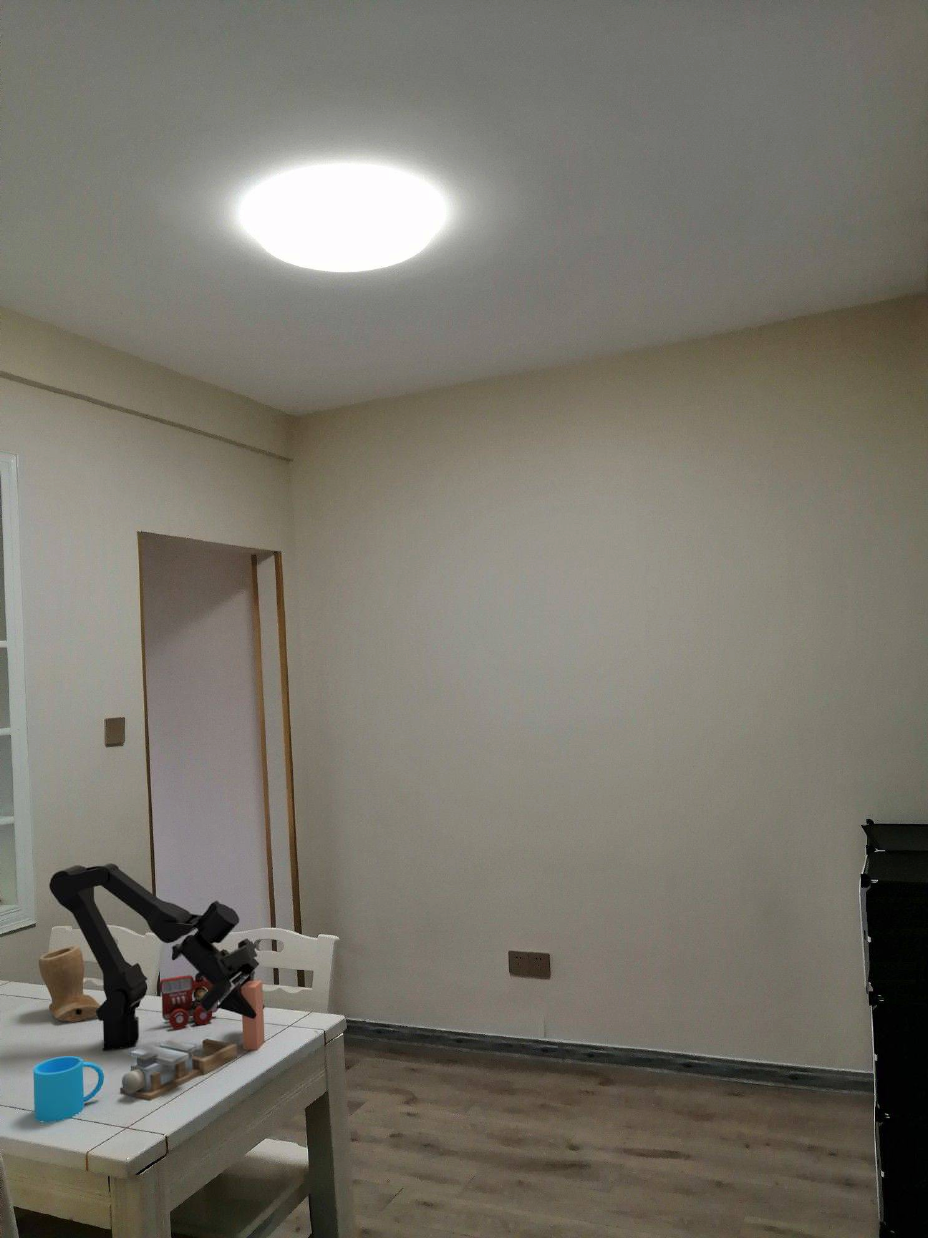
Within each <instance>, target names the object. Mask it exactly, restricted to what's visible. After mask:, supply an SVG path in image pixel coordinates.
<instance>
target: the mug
mask: <svg viewBox="0 0 928 1238" xmlns="http://www.w3.org/2000/svg"><path fill="white" fill-rule="evenodd" d="M85 1067H86V1068H91V1069H93V1070H94V1071H95V1072H96V1073H97V1077H98V1078H97V1079H98V1080H97V1083H96V1085H95V1087H94V1088H93V1089H92V1090H91V1092H90V1093H88V1094H86V1095H85V1096H84V1093H85V1092H84V1068H85ZM32 1071H33V1072H32V1073H33V1102H34V1103H33V1108H34V1120H36V1119H37V1120H36V1121H38V1122H41V1121H43V1122H42V1123H53V1122H52V1121H57V1122H61V1120H62V1121H64V1120H63V1119H66V1120H68V1119H71V1118H73V1116H74V1117H76V1116H77V1115H79V1114H80V1113H82V1110H84V1109H85V1102H88V1101H89V1100H91V1099H92V1098H94V1097H95V1096H96V1095H97V1094H98V1093H99V1091H100V1090H101V1088H102V1086H103V1084H104V1080H105V1075H104V1071H103V1069H102V1068H101V1067H100V1065H98V1064H96V1063H94V1062H88V1061H83V1059H82V1058H80V1057H79V1056H73V1055H71V1056H69V1055H68V1056H67V1055H65V1056H59V1057H54V1058H53V1057H52V1058H51V1059H46V1060H44V1061H42V1062H39V1063H38V1064H37V1065H35V1066H34V1067H33V1069H32ZM83 1108H84V1109H83ZM79 1112H80V1113H79ZM76 1114H77V1115H76ZM70 1117H71V1118H70Z"/></svg>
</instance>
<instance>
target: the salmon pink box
mask: <svg viewBox="0 0 928 1238" xmlns="http://www.w3.org/2000/svg"><path fill="white" fill-rule="evenodd" d="M263 993H264V992H263V981H262V980H254V981H248V982H247V983H245V984H244V985H243V986H242V987H241V994H242V995H243V996H244V998H245V999H246V1000H247V1002H248V1003H249V1004H250V1005H251V1007H252V1008H253V1009H254V1011H255V1012H256V1014H257V1016H256V1017H255V1018H254V1019H252V1018H249V1017H246V1016H243V1015H241V1016H242V1017H241V1019H242V1021H241V1022H242V1046H243V1047H242V1049H244V1050H245V1049H246V1050H245V1051H251V1050H253V1051H258V1050H259V1049H260V1048H261V1047H262V1046H263V1044H265V1041H266V1040H265V1022H264V1021H265V1020H264V1018H265V1017H264V1009H263V1004H264V996H263ZM248 1049H249V1050H248ZM250 1049H251V1050H250Z"/></svg>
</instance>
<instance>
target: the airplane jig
mask: <svg viewBox="0 0 928 1238" xmlns="http://www.w3.org/2000/svg"><path fill="white" fill-rule="evenodd" d="M201 1045H202V1046H201V1047H202V1054H204V1055H207V1056H205V1057H201V1056H196V1055H193V1052H195V1051H196V1045H193V1044H187V1043H182V1042H177V1041H173V1040H168V1041H165V1042H163V1043H161V1044H159V1046H156V1045H152V1044H151V1045H150V1044H146V1045H144V1046H142V1047H139V1048H137V1049H135V1050H132V1051H130V1056H131V1058H134V1059H136V1063H133V1064H132V1065H130V1071H128V1072H127V1073H125V1074H123V1076H122V1078H121V1084H122V1087H120V1088H119V1089H120V1090H119V1091H120V1093H121V1094H124V1095H128V1096H129V1095H130V1096H132V1097H135V1098H136V1097H137V1098H140V1099H144V1100H148V1101H152V1100H154V1099H156V1098H159V1097H160V1096H162V1095H164V1094H165V1093H168V1092H169V1091H172V1090H174V1089H175V1088H177V1087H179V1086H182V1085H183V1084H185V1083H187V1082H189V1081H191V1080H193V1079H195V1078H196V1077H199V1076H200V1075H206V1074H208V1073H210V1072H213V1071H214V1070H216V1069H218V1068H220V1067H222V1066H224V1065H226V1064H228V1063H229V1062H233V1060H236V1059H238V1049H237V1048H238V1046H237V1044H234V1043H229V1042H224V1041H218V1040H214V1039H210V1038H205V1039H204V1040H202V1044H201Z"/></svg>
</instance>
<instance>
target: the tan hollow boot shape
mask: <svg viewBox="0 0 928 1238" xmlns="http://www.w3.org/2000/svg"><path fill="white" fill-rule="evenodd" d="M38 967H39V968H38V969H39V974H40V976H41V978H42V980H43V982H44V984H45V986H46V988H47V991H48V993H49V995H50V998H51V1003H49V1006H48V1011H49V1012H50V1013H51V1015H52V1016H53V1017H55V1019H57V1020H58V1021H59V1020H60V1021H65V1022H75V1023H76V1022H82V1021H85V1020H87V1019H90V1018H93V1017H94V1016H97V1014H96V1010H97V1009H98V1008H99V1007H100V1006H101V1005H100V1003H98V1002H97V1000H96V999H95V998H94V997H92V996H91V995H89V994H84V977H85V963H84V957H83V951H82V950H81V948H80V947H79V946H73V945H70V946H65V947H62V948H58V949H56V950H53V951H52V950H51V951H49V952H46V953H44V954H43V955H41V956H39V958H38Z"/></svg>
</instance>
